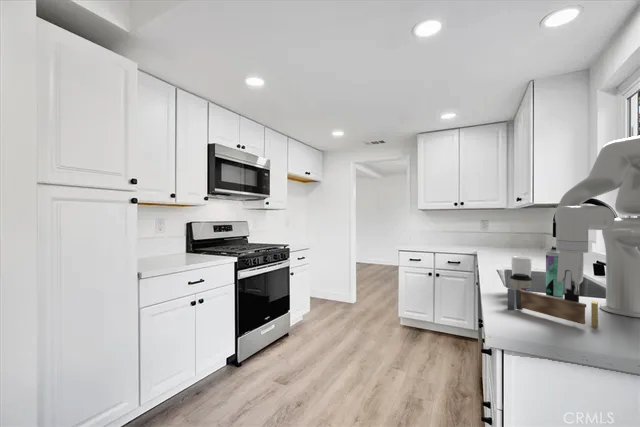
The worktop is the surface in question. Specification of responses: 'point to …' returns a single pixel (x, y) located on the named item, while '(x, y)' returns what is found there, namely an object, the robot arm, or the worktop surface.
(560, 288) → the spray can
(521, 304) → the gate leaf
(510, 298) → the hinge post
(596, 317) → the post
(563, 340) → the worktop surface
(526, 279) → the coffee cup
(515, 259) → the white cylinder
